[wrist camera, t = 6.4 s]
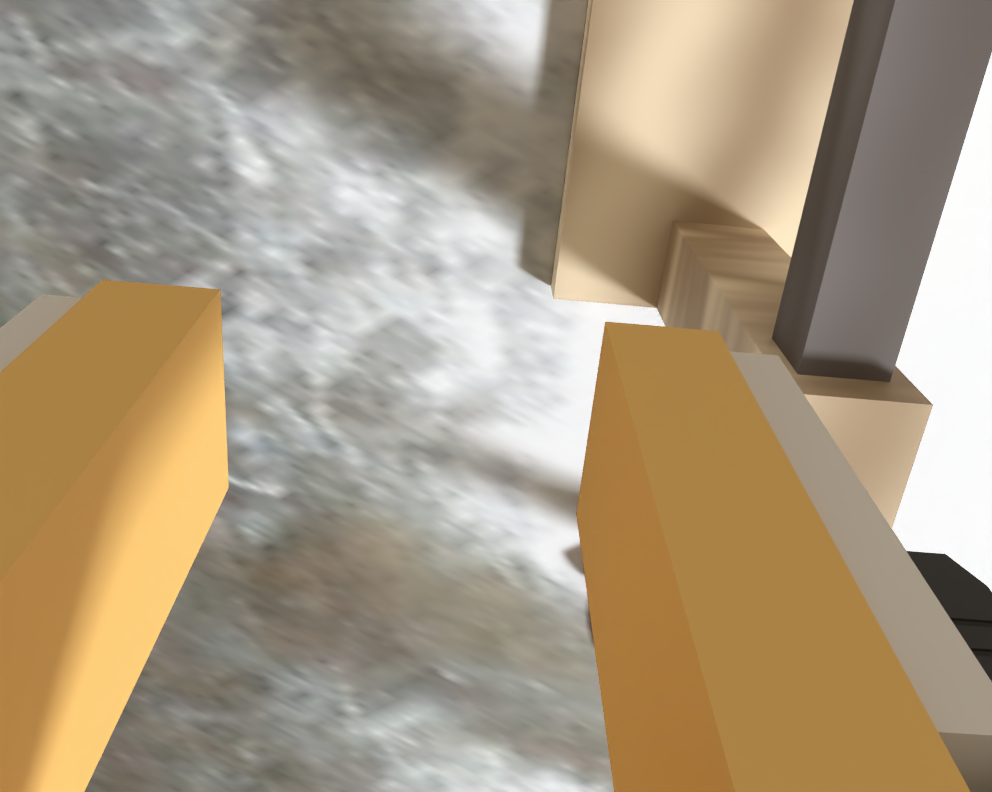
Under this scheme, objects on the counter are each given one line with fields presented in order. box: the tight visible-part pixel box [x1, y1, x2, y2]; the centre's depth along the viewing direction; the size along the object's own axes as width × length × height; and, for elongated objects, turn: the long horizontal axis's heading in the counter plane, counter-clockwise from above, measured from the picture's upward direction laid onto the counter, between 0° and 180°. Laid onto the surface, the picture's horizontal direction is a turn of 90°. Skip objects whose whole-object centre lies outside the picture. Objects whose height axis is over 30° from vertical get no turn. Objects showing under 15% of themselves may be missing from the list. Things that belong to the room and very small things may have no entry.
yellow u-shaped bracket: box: [0, 280, 971, 792], centre depth 9 cm, size 8×3×10 cm, turn 85°
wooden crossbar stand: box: [551, 0, 992, 528], centre depth 24 cm, size 10×15×14 cm, turn 174°
